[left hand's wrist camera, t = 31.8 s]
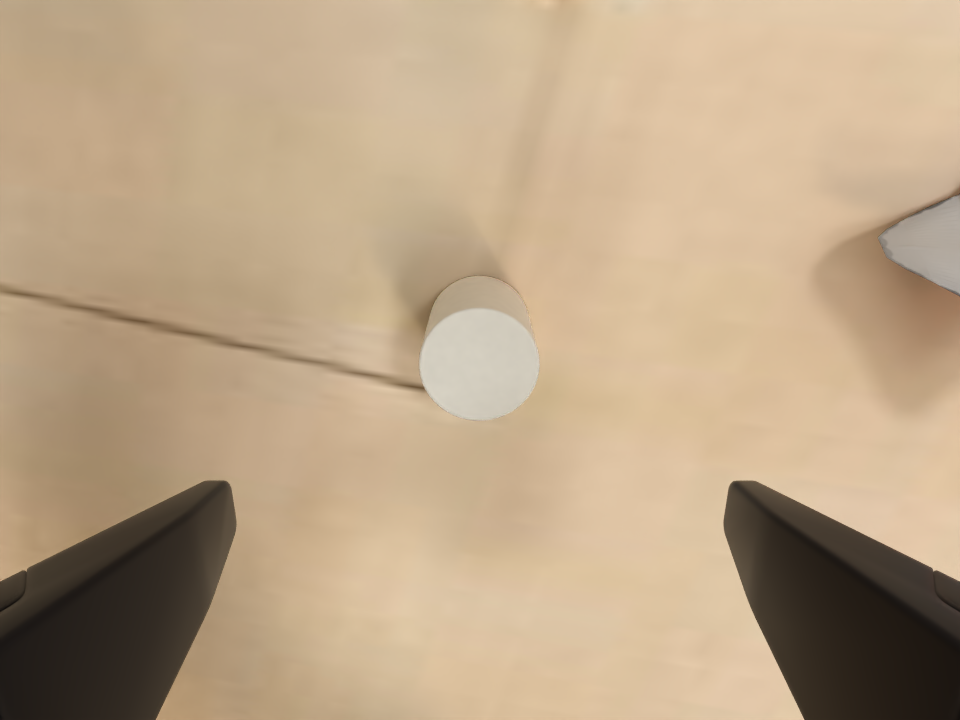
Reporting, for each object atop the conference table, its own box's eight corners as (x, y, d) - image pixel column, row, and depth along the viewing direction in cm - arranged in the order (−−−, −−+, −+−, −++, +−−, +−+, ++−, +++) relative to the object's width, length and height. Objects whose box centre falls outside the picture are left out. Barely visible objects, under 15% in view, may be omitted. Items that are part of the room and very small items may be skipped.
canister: (548, 339, 23) (562, 383, 19) (464, 388, 23) (461, 441, 19) (495, 255, 22) (498, 284, 18) (409, 309, 22) (394, 349, 18)
